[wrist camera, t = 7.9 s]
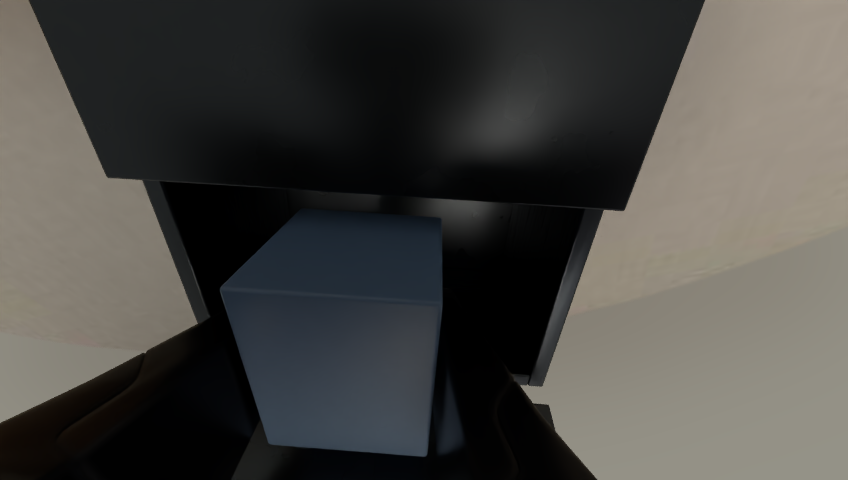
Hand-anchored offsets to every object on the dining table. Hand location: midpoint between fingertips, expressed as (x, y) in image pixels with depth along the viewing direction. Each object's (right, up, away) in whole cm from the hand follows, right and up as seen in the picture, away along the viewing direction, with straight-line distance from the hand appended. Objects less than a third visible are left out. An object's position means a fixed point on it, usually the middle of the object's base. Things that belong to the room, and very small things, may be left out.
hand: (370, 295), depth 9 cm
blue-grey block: (0, 0, 0) cm, 1 cm away
